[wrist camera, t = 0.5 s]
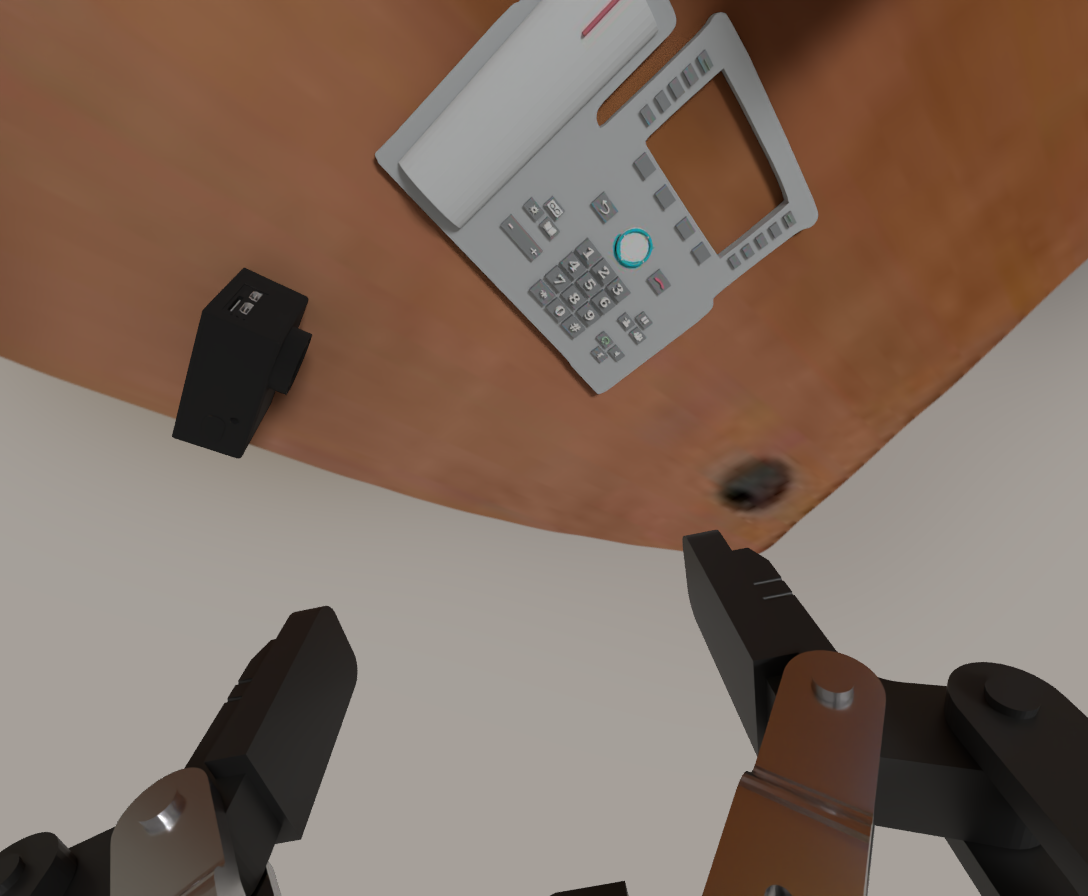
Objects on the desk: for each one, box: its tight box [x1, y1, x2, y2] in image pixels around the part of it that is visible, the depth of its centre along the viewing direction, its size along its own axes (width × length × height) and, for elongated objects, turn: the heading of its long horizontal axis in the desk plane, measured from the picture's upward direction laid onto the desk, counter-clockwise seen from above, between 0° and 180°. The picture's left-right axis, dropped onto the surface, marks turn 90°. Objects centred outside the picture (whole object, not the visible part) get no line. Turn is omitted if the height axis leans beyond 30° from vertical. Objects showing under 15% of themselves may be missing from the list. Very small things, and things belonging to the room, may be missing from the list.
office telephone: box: [375, 0, 818, 394], centre depth 33 cm, size 23×3×20 cm
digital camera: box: [172, 268, 312, 458], centre depth 36 cm, size 10×5×7 cm, turn 148°
